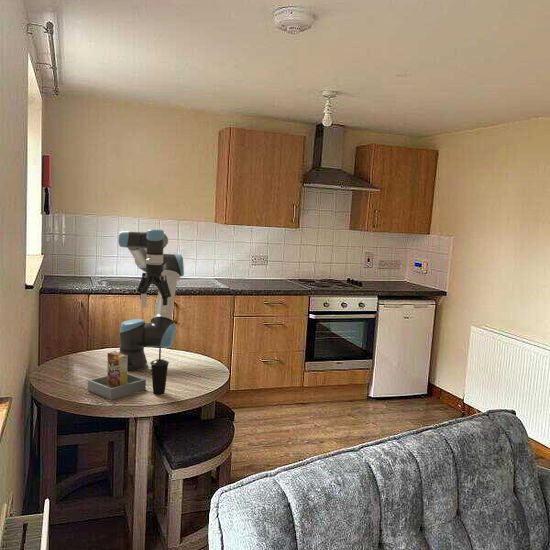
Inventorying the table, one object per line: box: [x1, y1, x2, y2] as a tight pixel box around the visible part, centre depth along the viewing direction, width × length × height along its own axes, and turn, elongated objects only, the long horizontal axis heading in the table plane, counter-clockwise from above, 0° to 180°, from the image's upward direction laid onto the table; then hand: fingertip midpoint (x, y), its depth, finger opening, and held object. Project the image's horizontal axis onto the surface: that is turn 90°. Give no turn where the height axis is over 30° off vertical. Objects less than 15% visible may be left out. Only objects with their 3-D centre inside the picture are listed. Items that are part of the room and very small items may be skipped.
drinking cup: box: [150, 347, 170, 396], centre depth 230 cm, size 8×8×20 cm
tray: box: [87, 372, 147, 401], centre depth 232 cm, size 16×18×4 cm
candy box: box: [106, 350, 128, 388], centre depth 231 cm, size 9×4×15 cm, turn 54°
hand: (153, 310), depth 245 cm, fingers open, 13 cm apart
